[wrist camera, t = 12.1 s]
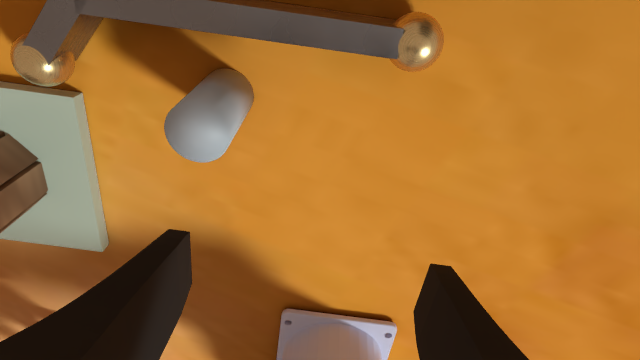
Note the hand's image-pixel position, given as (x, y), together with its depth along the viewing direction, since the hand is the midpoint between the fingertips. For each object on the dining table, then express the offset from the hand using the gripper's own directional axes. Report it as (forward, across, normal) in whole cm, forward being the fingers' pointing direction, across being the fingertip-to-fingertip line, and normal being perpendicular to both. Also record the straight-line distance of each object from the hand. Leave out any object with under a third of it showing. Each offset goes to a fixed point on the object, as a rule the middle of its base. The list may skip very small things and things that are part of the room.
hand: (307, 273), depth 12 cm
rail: (+10, +5, -4) cm, 12 cm away
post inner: (+10, +5, -2) cm, 12 cm away
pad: (+10, +18, +4) cm, 21 cm away
